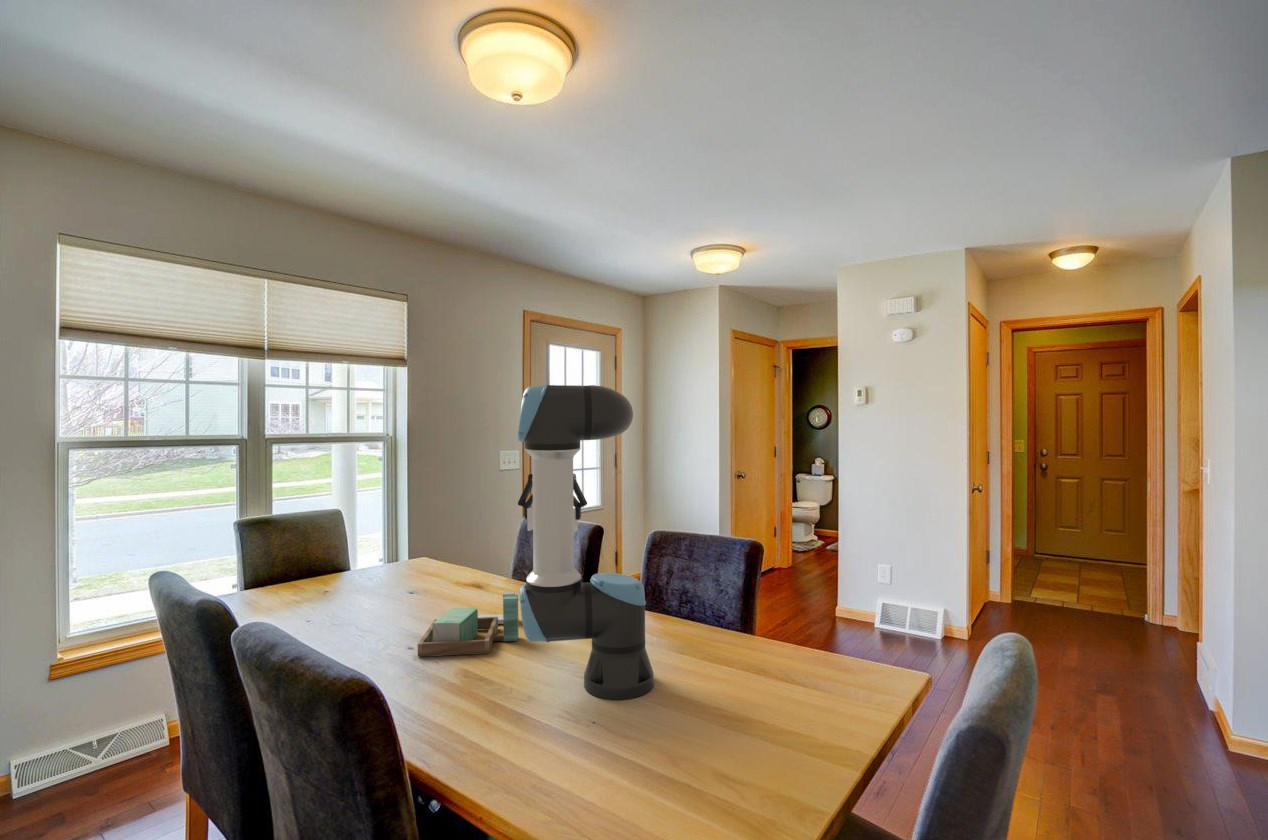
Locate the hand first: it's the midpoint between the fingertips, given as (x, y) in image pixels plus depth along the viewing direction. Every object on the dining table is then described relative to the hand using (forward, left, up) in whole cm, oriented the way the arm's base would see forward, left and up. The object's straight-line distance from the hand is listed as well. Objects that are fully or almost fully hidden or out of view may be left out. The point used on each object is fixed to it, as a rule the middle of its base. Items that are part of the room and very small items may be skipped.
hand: (552, 530), depth 176 cm
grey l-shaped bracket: (0, +22, -26) cm, 33 cm away
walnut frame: (-15, +20, -26) cm, 36 cm away
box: (-15, +25, -26) cm, 39 cm away
